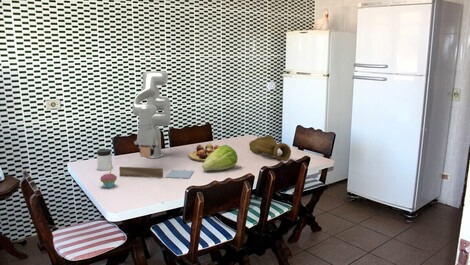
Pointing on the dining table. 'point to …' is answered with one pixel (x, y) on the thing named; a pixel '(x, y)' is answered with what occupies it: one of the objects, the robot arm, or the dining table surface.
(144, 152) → the lettered cube
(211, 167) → the lettuce
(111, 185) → the cupcake
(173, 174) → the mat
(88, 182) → the dining table surface
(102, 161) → the jar
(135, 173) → the walnut screen
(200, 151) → the wooden plate with food
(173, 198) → the dining table surface
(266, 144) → the brown looped sculpture
